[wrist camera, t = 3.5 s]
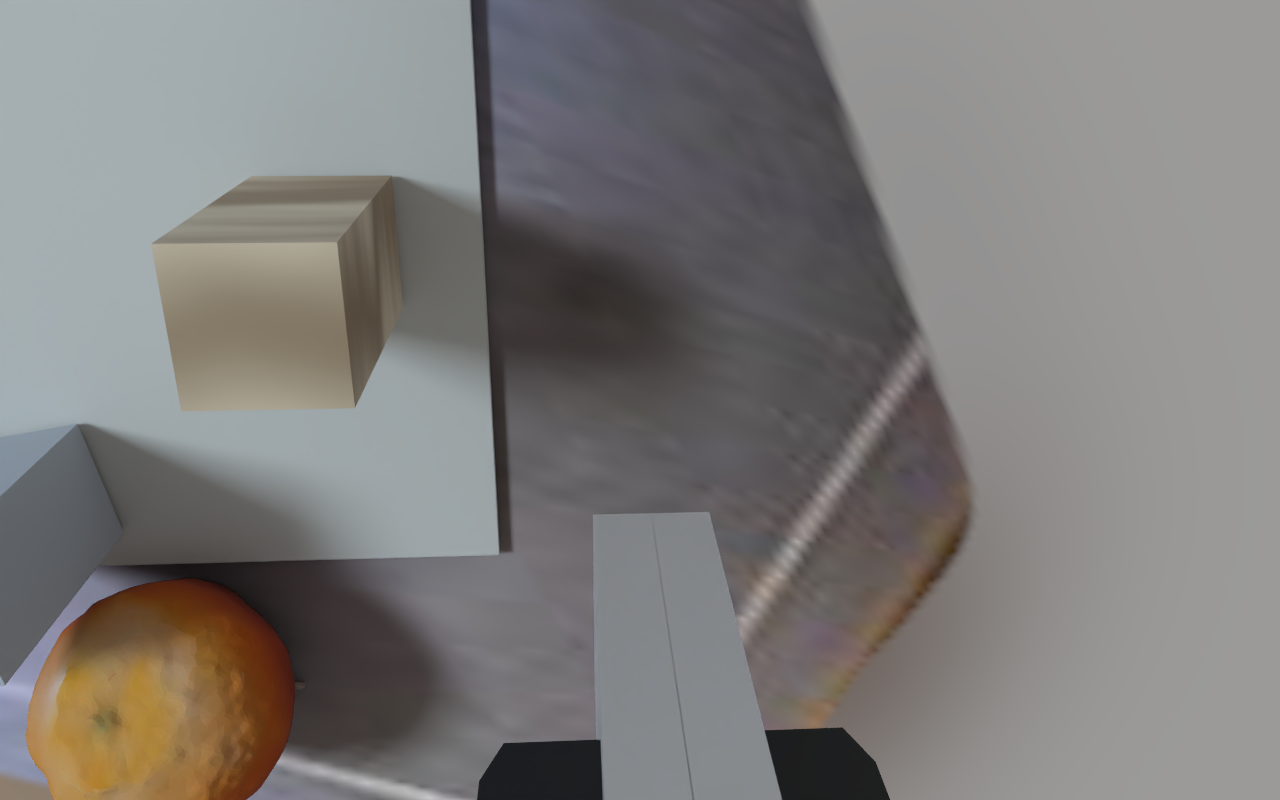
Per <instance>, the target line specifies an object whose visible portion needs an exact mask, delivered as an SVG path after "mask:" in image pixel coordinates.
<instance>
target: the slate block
mask: <svg viewBox="0 0 1280 800" xmlns="http://www.w3.org/2000/svg"><path fill="white" fill-rule="evenodd" d="M123 533H124V532H123V529H122V527H121V525H120V522H119V520H118V518H117V515H116V513H115V511H114V508H113V506H112V504H111V501H110V499H109V497H108V494H107V492H106V489H105V487H104V485H103V482H102V480H101V478H100V475H99V473H98V471H97V468H96V466H95V464H94V461H93V459H92V457H91V454H90V452H89V450H88V447H87V445H86V443H85V440H84V438H83V436H82V433H81V431H80V429H79V426H78V424H72V425H67V426H61V427H56V428H50V429H45V430H39V431H34V432H28V433H23V434H17V435H12V436H6V437H1V438H0V686H4V685H6V683H7V682H8V681H9V680H10V678H11V677H12V676H13V674H14V673H15V672H16V671H17V669H18V668H19V667H20V665H21V664H22V663H23V662H24V660H25V659H26V658H27V656H28V655H29V654H30V653H31V651H32V650H33V649H34V647H35V646H36V645H37V644H38V642H39V641H40V640H41V638H42V637H43V636H44V635H45V633H46V632H47V631H48V629H49V628H50V627H51V626H52V624H53V623H54V622H55V620H56V619H57V618H58V617H59V615H60V614H61V613H62V611H63V610H64V609H65V607H66V606H67V605H68V604H69V602H70V601H71V600H72V598H73V597H74V596H75V595H76V593H77V592H78V591H79V589H80V588H81V587H82V586H83V584H84V583H85V582H86V580H87V579H88V578H89V577H90V575H91V574H92V573H93V571H94V570H95V569H96V568H97V566H98V565H99V564H100V562H101V561H102V560H103V559H104V557H105V556H106V555H107V553H108V552H109V551H110V550H111V548H112V547H113V546H114V544H115V543H116V542H117V541H118V539H119V538H120V537H121V535H122V534H123Z"/></svg>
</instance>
